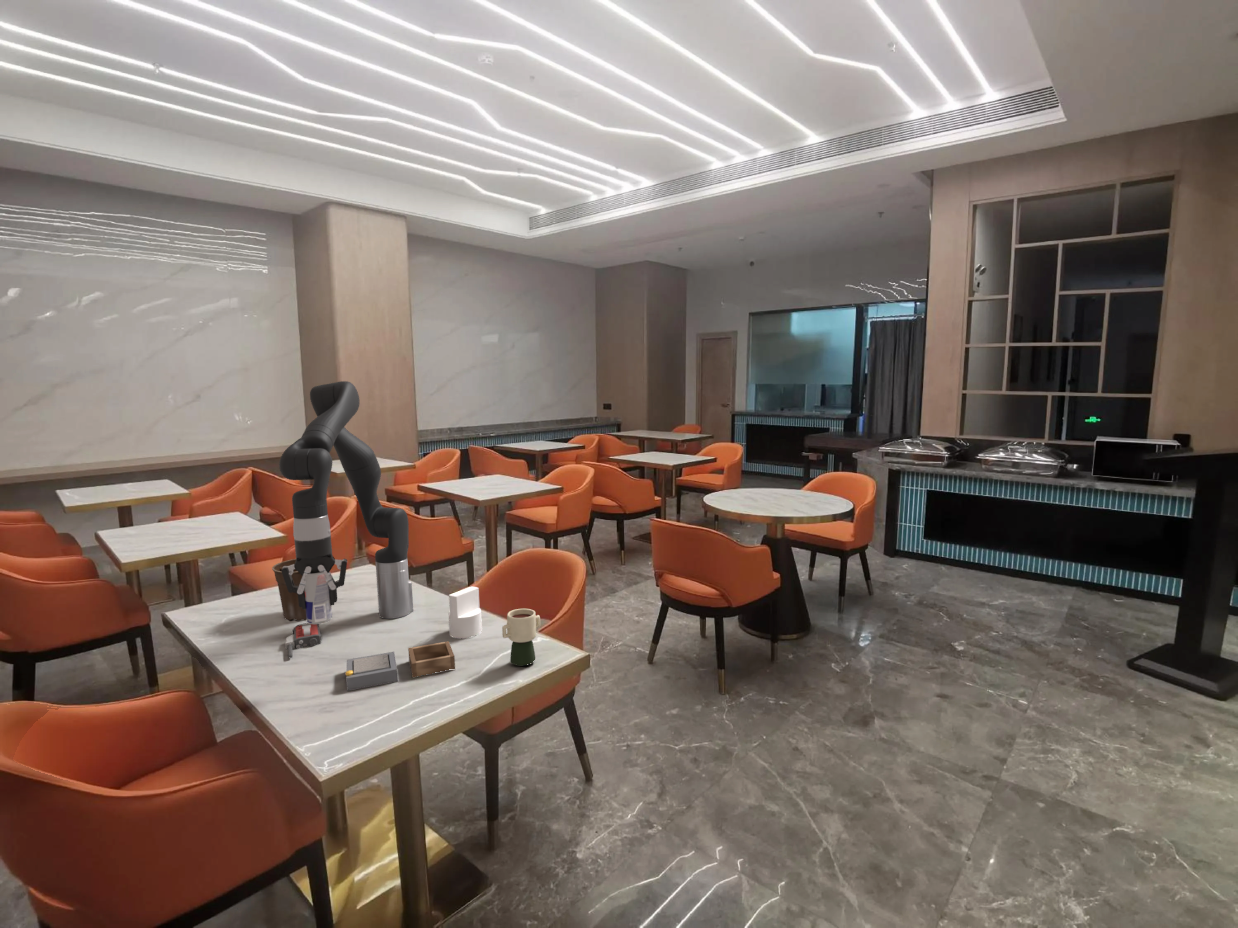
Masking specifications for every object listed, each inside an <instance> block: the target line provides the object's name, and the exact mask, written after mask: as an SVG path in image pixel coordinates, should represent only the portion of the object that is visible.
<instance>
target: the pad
mask: <svg viewBox="0 0 1238 928" xmlns="http://www.w3.org/2000/svg"><path fill="white" fill-rule="evenodd" d="M389 668H390V666H389V660H388V654H384V655H379V656H373V657H367V658H361V659H355V660H354V672H353V675H355V674H361V673H367V672H372V671H378V670H383V669H389Z"/></svg>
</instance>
